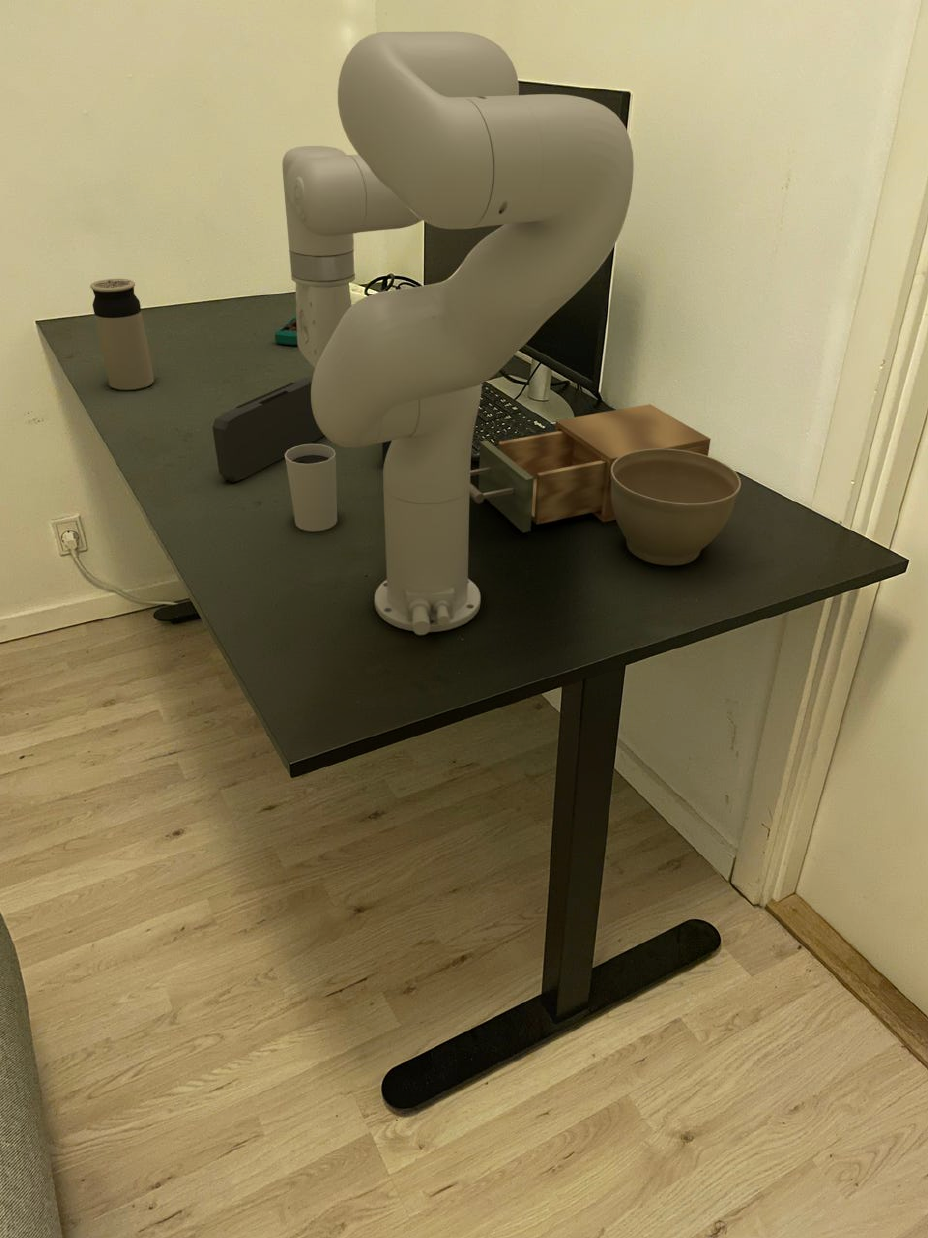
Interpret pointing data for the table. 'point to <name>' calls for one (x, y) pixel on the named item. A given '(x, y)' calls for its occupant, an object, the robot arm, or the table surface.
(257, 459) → the handheld gaming console
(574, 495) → the drawer
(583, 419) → the cabinet
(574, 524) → the table surface
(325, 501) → the white coffee cup
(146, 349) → the travel mug
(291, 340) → the digital multimeter
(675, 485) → the planter bowl
